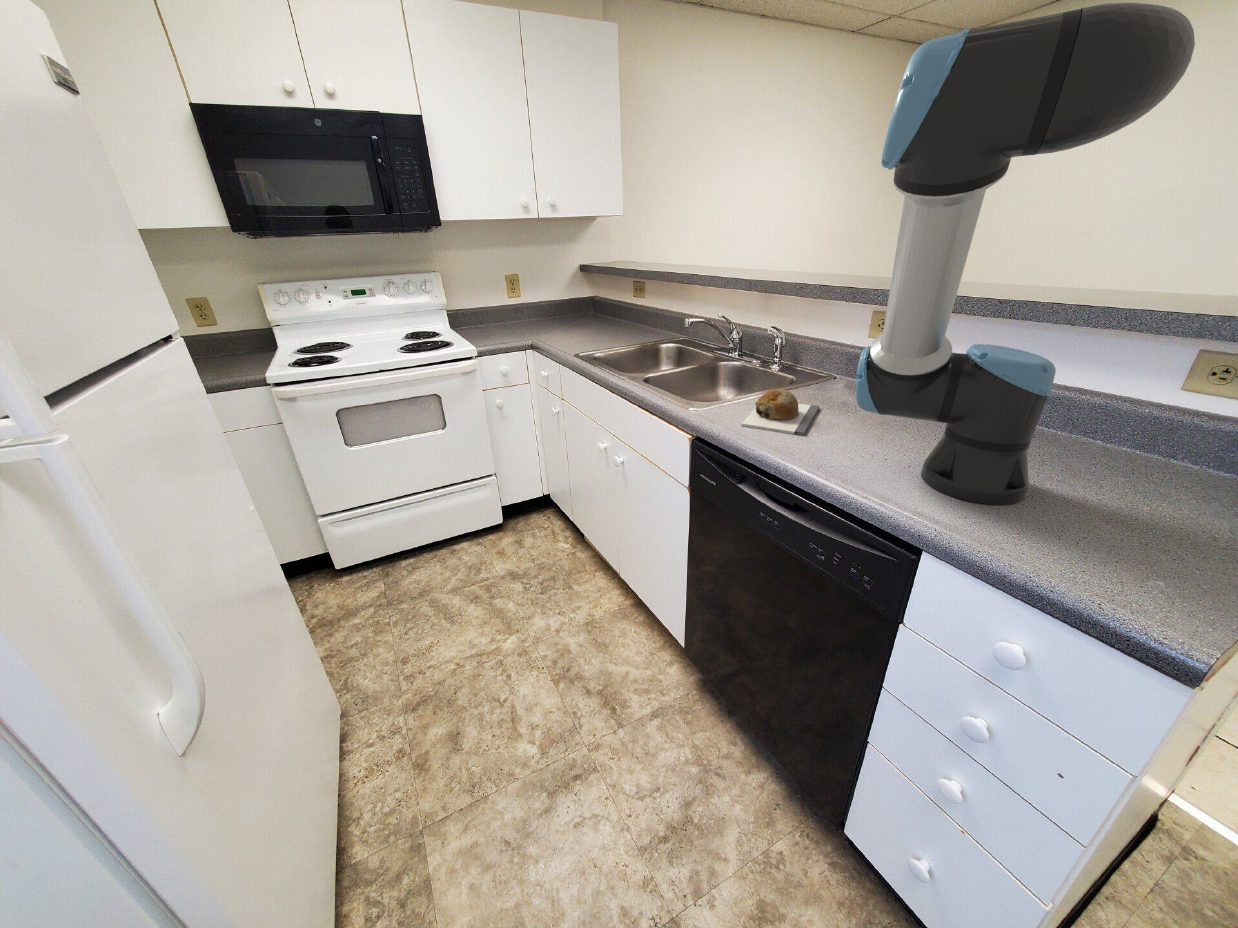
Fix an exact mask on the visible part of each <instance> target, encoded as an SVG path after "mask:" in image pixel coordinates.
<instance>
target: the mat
mask: <svg viewBox="0 0 1238 928" xmlns="http://www.w3.org/2000/svg"><path fill="white" fill-rule="evenodd" d="M798 409H799V410H798V413H799V415H798V416H796V417H795V418H793V419H785V420H782V421H780V420H771V419H766V418H763V417H761V416H759V414H757V412H756V407H755V408H754V409H753V410H752V411H751V412H750V413H749V414H748V416H747V417H746V418H745V419H744V420H743V421H742V422H741V427H745V428H752V429H758V430H759V429H760V430H763V431H764V430H766V431H770V432H771V431H773V432H776V433H777V432H778V433H783V434H790V435H796V436H797V435H798V436H803V437H804V435H805V434H806V433H807V430H809V427H810V425H811V424H812V421H813V420H814V418H815V417H816V415H817V413H818V411H819V409H820V405H817V404H816V405H814V404H803V403H799V404H798Z"/></svg>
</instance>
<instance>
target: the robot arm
mask: <svg viewBox="0 0 1238 928" xmlns="http://www.w3.org/2000/svg"><path fill="white" fill-rule="evenodd" d="M1195 46H1196V41H1195V31H1194V28H1193V25H1192V23H1191V21H1190V19H1189V18H1188V17H1187V16H1186V15H1184V14H1183V13H1182V12H1180V11H1179V10H1177V9H1175V8H1172V7H1168V6H1165V5H1159V4H1152V3H1151V4H1150V3H1143V2H1142V3H1141V2H1114V3H1113V2H1110V3H1109V2H1108V3H1102V4H1101V3H1100V4H1095V5H1090V6H1086V7H1081V8H1078V9H1077V8H1076V9H1073V10H1068V11H1064V12H1059V13H1053V14H1048V15H1043V16H1037V17H1033V18H1032V17H1031V18H1027V19H1021V20H1016V21H1010V22H1006V23H1000V24H995V25H994V24H993V25H988V26H983V27H978V28H971V29H969V28H965V29H962V30H961V31H960V32H958V33H954V34H950V35H945V36H941V37H937V38H934V39H930V40H927V41H926V42H924V43H922V44H921V45H919V47H918V48H917V49H916V50H915V51H914V53H913V54H912V55H911V57H910V59H909V61H908V63H907V66H906V68H905V71H904V73H903V77H902V80H901V82H900V85H899V89H898V91H897V95H896V99H895V102H894V106H893V109H892V113H891V116H890V120H889V123H888V128H887V132H886V136H885V141H884V145H883V149H882V154H881V161H880V162H881V163H880V164H881V167H882V168H884V169H887V170H893V169H894V174H893V175H894V176H893V186H894V187H895V190H897V191H898V192H900V194H901V195H903V196H904V199H903V206H902V210H901V219H900V222H899V223H900V224H899V231H898V234H897V235H898V236H897V242H896V249H895V256H894V260H893V261H894V262H893V268H892V273H891V274H892V275H891V280H890V286H889V292H888V298H887V300H888V301H887V305H886V312H885V318H884V323H883V330H882V333H881V334H879V335H878V336H877V337H875V338H874V340H873V342H872V343H871V345H869V346H865V347H864V348H863V350H862V351H861V353H860V357H859V361H858V365H857V371H856V381H855V398H856V403H857V405H858V407H859V408H860V409H862V410H863V411H865V412H870V413H873V414H878V415H882V416H889V417H890V416H891V417H898V418H899V417H900V418H905V419H912V420H913V419H914V420H921V421H928V422H929V421H930V422H936V423H944V424H946V426H945V429H944V432H943V435H942V436H941V438H940V440H939V441H938V442H937V443H936V445H935V447H933V448H932V451H931V452H930V453H929V454H928V456H927V457H926V459H925V460H924V462H923V463H922V464H923V465H922V467H921V472H920V476H921V478H922V480H923V481H924V482H925V484H928V486H929V487H931V488H933V489H935V490H936V491H939V492H940V493H943V494H945V495H948V496H950V497H954V498H957V499H960V500H963V501H968V502H973V503H979V504H985V505H1001V506H1002V505H1010V504H1011V505H1012V504H1016V503H1019V502H1021V501H1022V500H1023V499H1024V498H1025V496H1026V493H1027V491H1028V488H1029V484H1030V481H1029V480H1030V479H1029V477H1030V476H1029V463H1028V451H1029V448H1030V445H1031V442H1032V440H1033V437H1034V435H1035V432H1036V430H1037V427H1038V424H1039V421H1040V420H1041V419H1040V418H1041V416H1042V413H1043V411H1044V408H1045V405H1046V402H1047V400H1048V398H1049V396H1051V395H1052V387H1053V384H1054V382H1055V381H1054V380H1055V377H1056V372H1057V369H1056V367H1055V365H1054V363H1053V362H1052V361H1051V360H1050V359H1048V358H1045V357H1044V356H1042V355H1038V354H1036V353H1032V352H1029V351H1026V350H1022V349H1018V348H1014V347H1013V348H1012V347H1009V346H1005V345H1004V346H1003V345H997V344H983V343H979V344H978V343H977V344H972V345H970V346H969V347H968V348H967V349H966V353H961V352H959V353H958V352H953V346H952V343H951V341H950V340H949V338H948V337H947V336H946V334H947V330H948V327H949V324H950V320H951V316H952V313H953V310H954V305H955V302H956V298H957V295H958V291H959V287H960V285H961V280H962V277H963V274H964V270H965V266H966V262H967V259H968V255H969V251H970V249H971V244H972V242H973V241H972V240H973V237H974V233H975V231H976V227H977V223H978V221H979V217H980V212H981V209H982V206H983V202H984V199H985V195H986V191H987V190H988V189H989V188H991V187H992V186H994V185H996V183H998V182H999V181H1001V180H1002V179H1003V178H1004V177H1005V176H1006V174H1007V172H1008V169H1009V167H1010V164H1011V160H1012V158H1017V157H1024V156H1025V157H1027V156H1036V155H1044V154H1053V153H1057V152H1063V151H1068V150H1071V149H1074V148H1078V147H1082V146H1084V145H1087V144H1090V143H1092V142H1095V141H1097V140H1098V141H1099V140H1101V139H1103V138H1105V137H1108V136H1110V135H1112V134H1114V133H1116V132H1118V131H1120V130H1122V129H1123V128H1125V127H1127V126H1129V125H1131V124H1134V122H1136V121H1138V120H1139V119H1141V118H1142V117H1143V116H1145V115H1146V114H1148V113H1149V112H1151V111H1152V110H1153V109H1154V108H1155V107H1157V106H1158V104H1160V103H1161V102H1162V101H1164V100H1165V99H1166V97H1167V96H1168V95H1170V94H1171V92H1172V90H1174V89H1175V87H1176V86H1177V85H1178V84H1179V82H1180V81H1181V80H1182V77H1184V76H1185V74H1186V72H1187V69H1188V67H1189V65H1190V64H1191V61H1192V58H1193V55H1194V54H1193V53H1194V50H1195Z"/></svg>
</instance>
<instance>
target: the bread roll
mask: <svg viewBox="0 0 1238 928" xmlns="http://www.w3.org/2000/svg"><path fill="white" fill-rule="evenodd" d="M798 404H800V403H799V402H798V400H797V398H796V396H795V394H794V393H792V392H791V391H789V390H786V389H784V388H774V389H770V390H769V391H767V392H765V393H763V394H762V395H761V396H760V397H759V398H758V399H757V401H756V402H755V408H756V412H757V414H759V416H761V417H763V418H766V419H771V420H780V421H782V420H785V419H793V418H795V417H796V416H798V415H799V413H798V410H799V409H798Z"/></svg>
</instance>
